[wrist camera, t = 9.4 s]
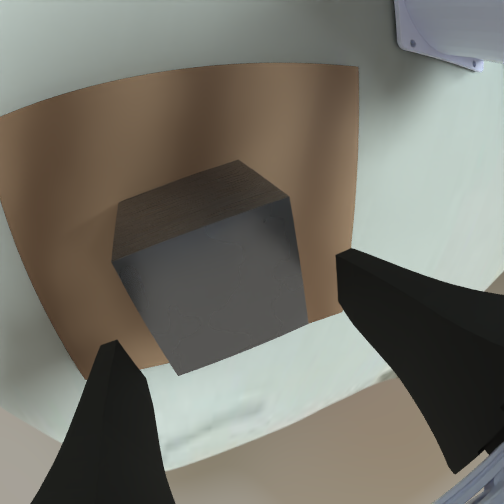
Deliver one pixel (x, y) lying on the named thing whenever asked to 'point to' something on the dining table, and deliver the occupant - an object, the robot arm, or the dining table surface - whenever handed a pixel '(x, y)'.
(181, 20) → the dining table surface
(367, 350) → the dining table surface
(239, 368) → the dining table surface
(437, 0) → the robot arm
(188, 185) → the square cap
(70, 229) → the post board
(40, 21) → the dining table surface
